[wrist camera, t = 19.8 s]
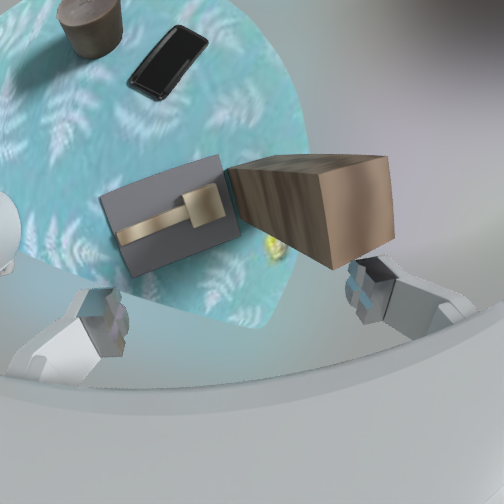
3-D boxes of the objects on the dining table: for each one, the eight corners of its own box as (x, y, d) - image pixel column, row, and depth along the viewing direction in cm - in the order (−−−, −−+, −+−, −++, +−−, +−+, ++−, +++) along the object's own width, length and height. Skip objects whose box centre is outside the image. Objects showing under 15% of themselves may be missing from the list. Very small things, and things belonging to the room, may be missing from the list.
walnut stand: (240, 219, 52) (332, 270, 28) (227, 168, 48) (318, 174, 24) (286, 203, 55) (394, 238, 30) (275, 155, 51) (387, 156, 26)
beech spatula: (125, 253, 45) (125, 256, 44) (113, 222, 43) (111, 224, 41) (222, 213, 50) (225, 215, 48) (213, 182, 48) (215, 183, 46)
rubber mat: (132, 277, 48) (132, 278, 47) (100, 196, 41) (100, 196, 41) (240, 235, 53) (240, 236, 53) (217, 154, 47) (218, 154, 47)
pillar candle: (131, 41, 34) (130, -3, 21) (83, 69, 32) (65, 34, 19) (111, 10, 30) (107, -34, 16) (66, 37, 28) (46, -2, 15)
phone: (127, 82, 36) (177, 22, 35) (127, 83, 37) (176, 25, 36) (163, 101, 40) (211, 41, 39) (163, 103, 41) (210, 44, 40)
